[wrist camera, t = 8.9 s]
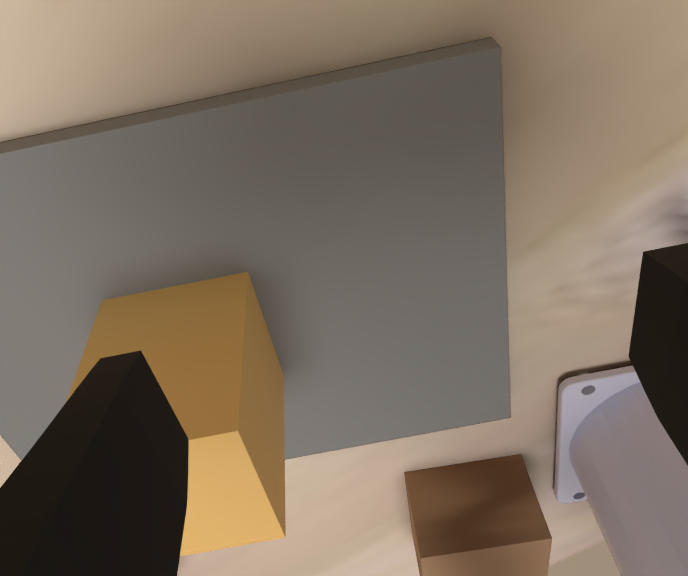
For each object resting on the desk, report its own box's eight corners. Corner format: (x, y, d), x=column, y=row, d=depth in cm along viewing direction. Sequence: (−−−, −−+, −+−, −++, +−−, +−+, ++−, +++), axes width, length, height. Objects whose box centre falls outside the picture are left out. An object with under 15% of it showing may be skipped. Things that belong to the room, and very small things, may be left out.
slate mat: (491, 37, 16) (500, 47, 15) (504, 401, 24) (510, 417, 24) (-180, 181, 17) (-198, 196, 16) (61, 484, 25) (56, 502, 25)
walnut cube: (519, 451, 27) (552, 538, 24) (516, 516, 30) (544, 600, 27) (403, 469, 27) (420, 558, 24) (411, 532, 30) (427, 618, 27)
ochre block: (247, 271, 19) (237, 430, 14) (283, 375, 21) (285, 537, 17) (102, 300, 19) (43, 467, 14) (155, 399, 22) (122, 566, 17)
